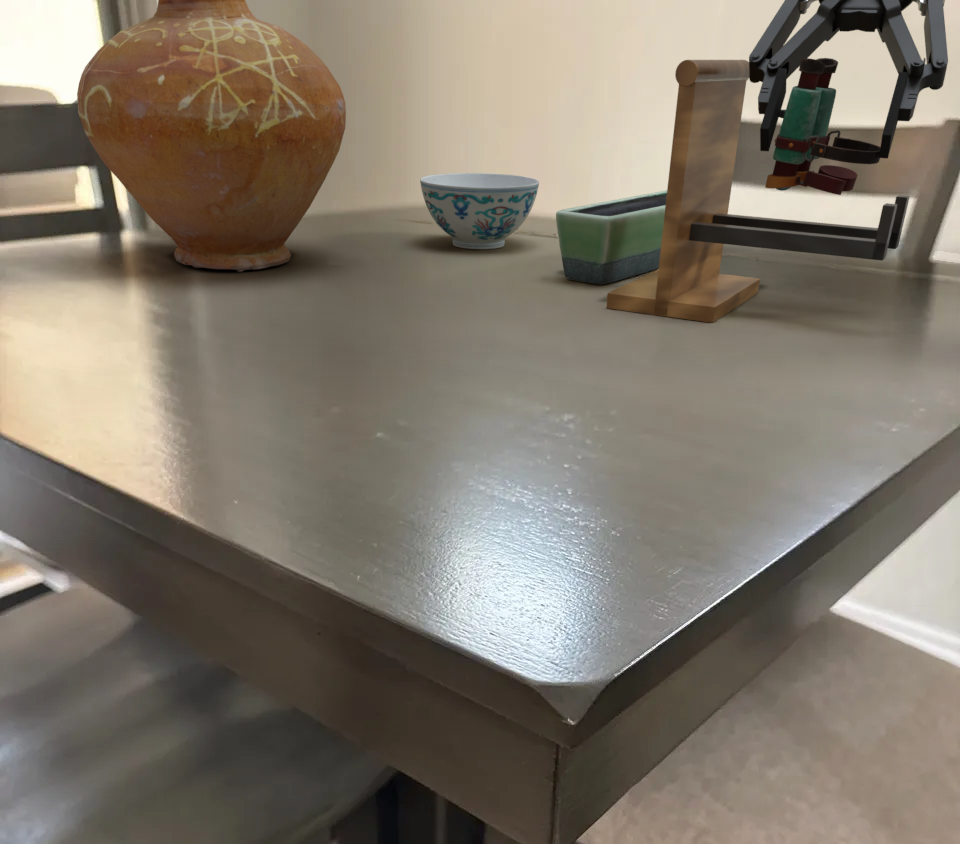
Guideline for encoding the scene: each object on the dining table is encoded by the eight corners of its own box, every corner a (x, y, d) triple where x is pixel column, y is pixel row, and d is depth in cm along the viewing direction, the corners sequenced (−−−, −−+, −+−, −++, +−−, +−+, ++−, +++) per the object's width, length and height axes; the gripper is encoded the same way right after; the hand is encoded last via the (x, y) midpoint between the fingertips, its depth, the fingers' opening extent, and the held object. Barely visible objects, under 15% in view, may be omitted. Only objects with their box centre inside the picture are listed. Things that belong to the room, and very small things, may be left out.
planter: (667, 248, 127) (674, 188, 123) (717, 255, 123) (726, 193, 119) (548, 280, 108) (552, 210, 104) (604, 290, 105) (610, 217, 101)
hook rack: (889, 308, 100) (945, 65, 88) (857, 344, 87) (918, 65, 76) (662, 280, 110) (687, 58, 98) (604, 309, 97) (625, 58, 86)
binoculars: (897, 72, 80) (779, 54, 83) (855, 209, 86) (747, 187, 89) (917, 70, 86) (807, 54, 90) (877, 198, 92) (775, 178, 96)
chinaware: (538, 256, 120) (542, 188, 116) (417, 254, 120) (416, 185, 116) (533, 236, 133) (536, 174, 129) (424, 234, 133) (423, 172, 129)
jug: (108, 294, 98) (45, -72, 82) (102, 246, 121) (51, -49, 105) (379, 280, 106) (368, -55, 91) (325, 237, 129) (309, -37, 113)
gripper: (1003, -24, 90) (951, 182, 86) (760, -24, 97) (701, 165, 93) (1023, -103, 83) (967, 117, 79) (759, -96, 90) (696, 105, 86)
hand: (823, 143), depth 86 cm, fingers closed on binoculars, 10 cm apart
